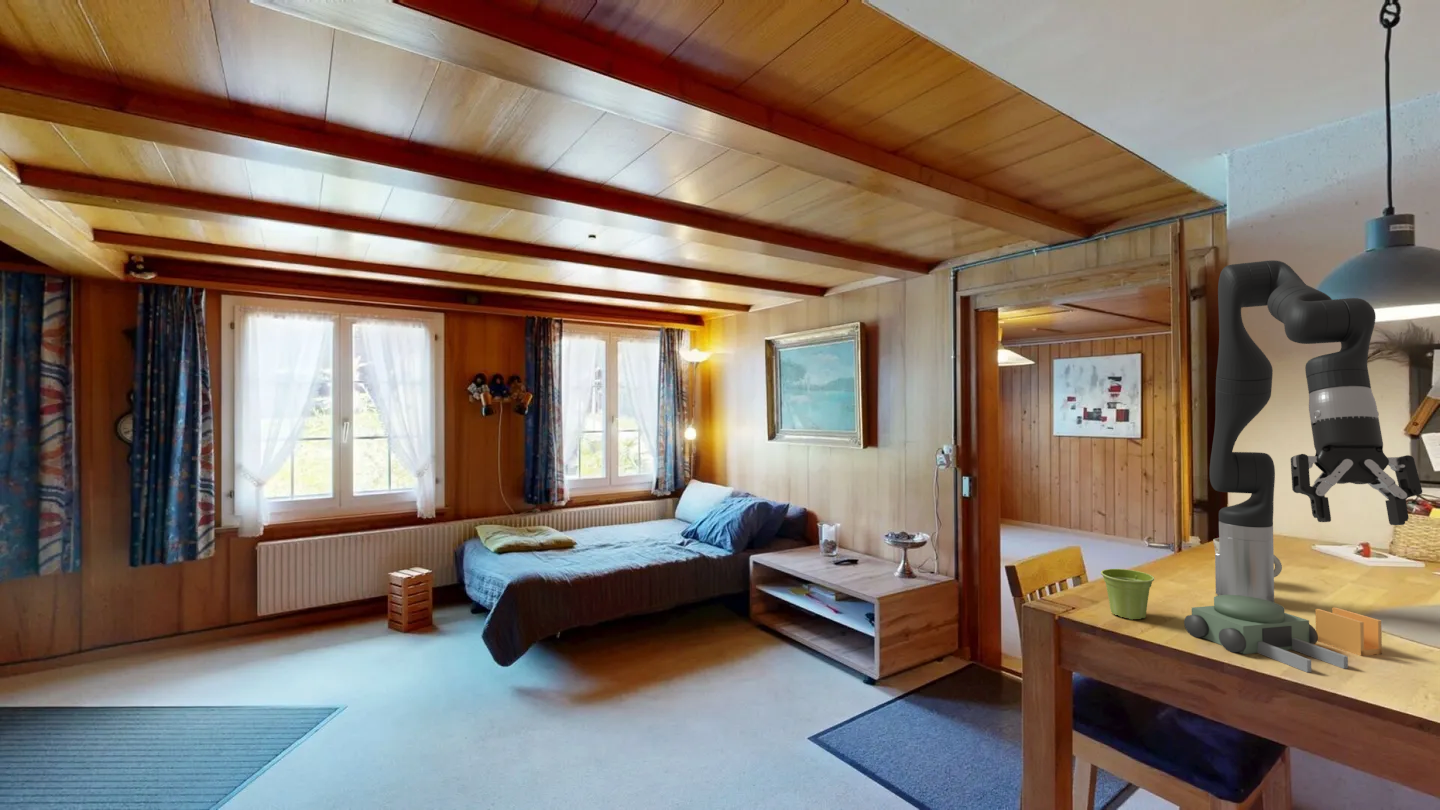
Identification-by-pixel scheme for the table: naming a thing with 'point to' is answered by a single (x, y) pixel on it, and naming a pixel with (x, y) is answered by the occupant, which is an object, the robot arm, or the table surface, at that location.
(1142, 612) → the plant pot
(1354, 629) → the orange u-channel
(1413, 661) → the table surface
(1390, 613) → the table surface
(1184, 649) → the table surface
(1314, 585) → the table surface
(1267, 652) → the toy forklift
